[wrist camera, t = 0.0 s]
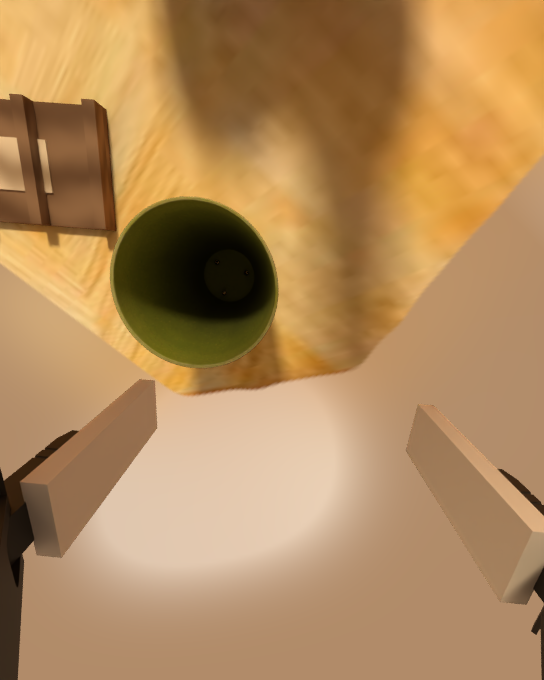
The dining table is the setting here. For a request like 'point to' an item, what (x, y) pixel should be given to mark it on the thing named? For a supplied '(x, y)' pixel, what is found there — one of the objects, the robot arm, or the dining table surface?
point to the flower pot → (194, 282)
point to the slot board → (55, 164)
